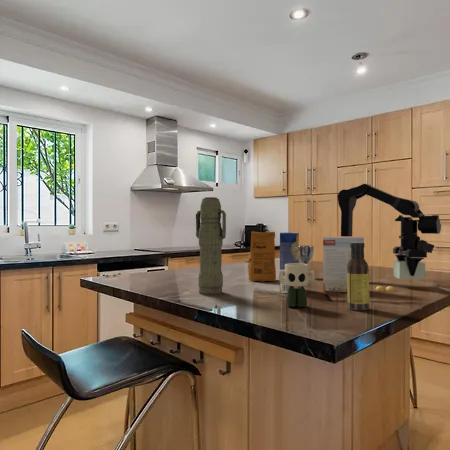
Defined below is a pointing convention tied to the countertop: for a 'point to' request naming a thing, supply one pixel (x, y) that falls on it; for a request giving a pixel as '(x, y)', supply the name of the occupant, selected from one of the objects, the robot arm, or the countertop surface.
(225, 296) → the countertop surface
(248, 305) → the countertop surface
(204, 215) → the thermos
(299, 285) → the toy figurine
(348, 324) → the countertop surface
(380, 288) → the amber marble
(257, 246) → the coffee package
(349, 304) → the sauce bottle
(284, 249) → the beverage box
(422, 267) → the sage cover
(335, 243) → the cracker box
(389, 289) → the amber marble
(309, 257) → the wine glass
